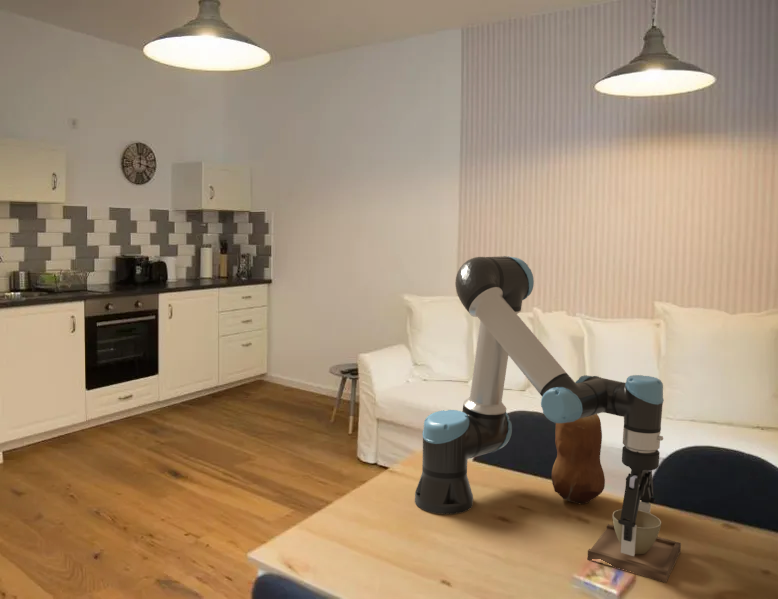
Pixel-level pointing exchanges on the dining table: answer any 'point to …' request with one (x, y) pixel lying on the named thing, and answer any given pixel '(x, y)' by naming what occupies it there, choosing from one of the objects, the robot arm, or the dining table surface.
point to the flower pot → (640, 530)
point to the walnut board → (637, 556)
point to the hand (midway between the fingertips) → (635, 541)
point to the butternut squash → (578, 460)
